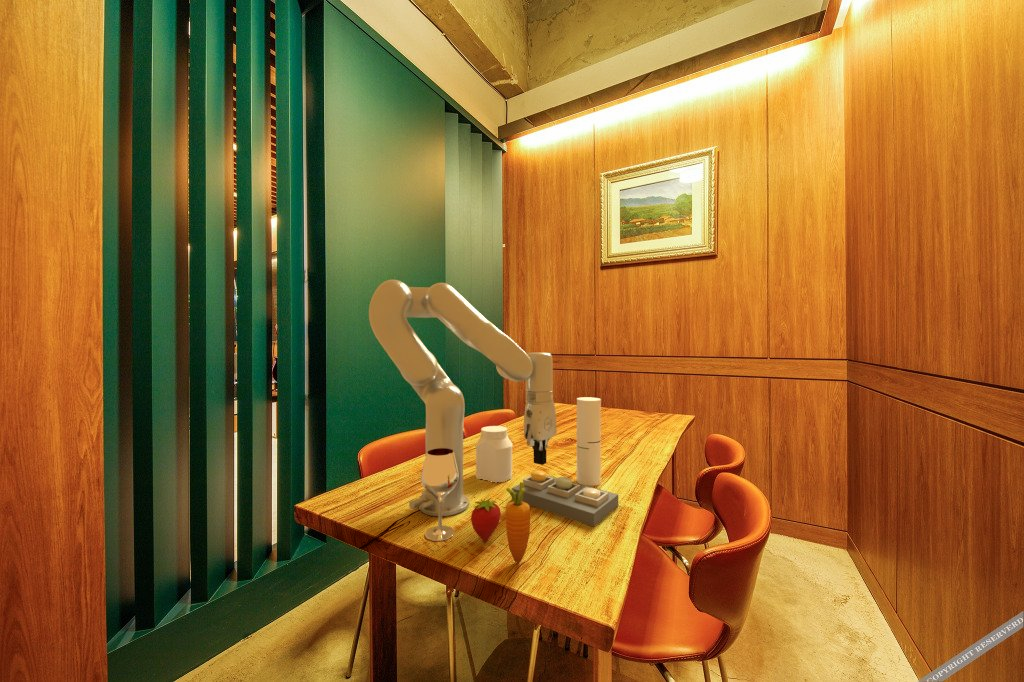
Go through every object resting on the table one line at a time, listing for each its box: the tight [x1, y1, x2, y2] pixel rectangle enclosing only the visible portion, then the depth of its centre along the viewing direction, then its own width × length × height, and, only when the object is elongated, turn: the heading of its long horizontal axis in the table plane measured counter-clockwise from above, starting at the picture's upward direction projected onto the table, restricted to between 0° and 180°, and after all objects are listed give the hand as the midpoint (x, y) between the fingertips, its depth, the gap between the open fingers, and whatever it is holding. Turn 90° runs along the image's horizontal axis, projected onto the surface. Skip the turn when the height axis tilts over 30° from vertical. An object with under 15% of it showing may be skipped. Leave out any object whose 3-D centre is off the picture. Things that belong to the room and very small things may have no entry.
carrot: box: [505, 481, 531, 564], centre depth 71 cm, size 5×5×15 cm
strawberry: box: [470, 494, 502, 543], centre depth 79 cm, size 6×8×10 cm
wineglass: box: [420, 448, 459, 542], centre depth 82 cm, size 8×8×18 cm
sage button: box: [555, 476, 573, 489], centre depth 98 cm, size 4×4×2 cm
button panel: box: [511, 474, 619, 528], centre depth 98 cm, size 14×24×4 cm, turn 52°
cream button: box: [583, 487, 600, 499], centre depth 93 cm, size 4×4×2 cm
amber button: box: [530, 470, 547, 482], centre depth 103 cm, size 4×4×2 cm
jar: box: [475, 425, 513, 484], centre depth 118 cm, size 12×10×15 cm
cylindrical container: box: [576, 396, 602, 487], centre depth 114 cm, size 7×7×25 cm
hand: (540, 463), depth 103 cm, fingers closed
